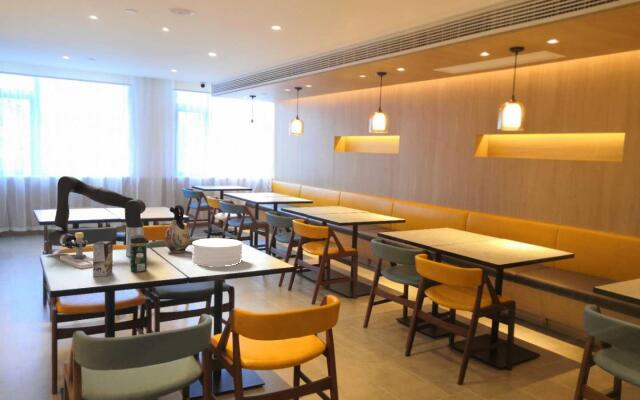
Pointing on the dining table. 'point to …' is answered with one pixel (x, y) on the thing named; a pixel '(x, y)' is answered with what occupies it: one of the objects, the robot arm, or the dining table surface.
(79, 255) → the yellow capped tube
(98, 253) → the coffee box
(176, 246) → the ceramic jug
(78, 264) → the beige flat slab
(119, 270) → the dining table surface
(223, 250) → the plate stack
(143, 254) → the coffee jar
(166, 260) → the dining table surface
